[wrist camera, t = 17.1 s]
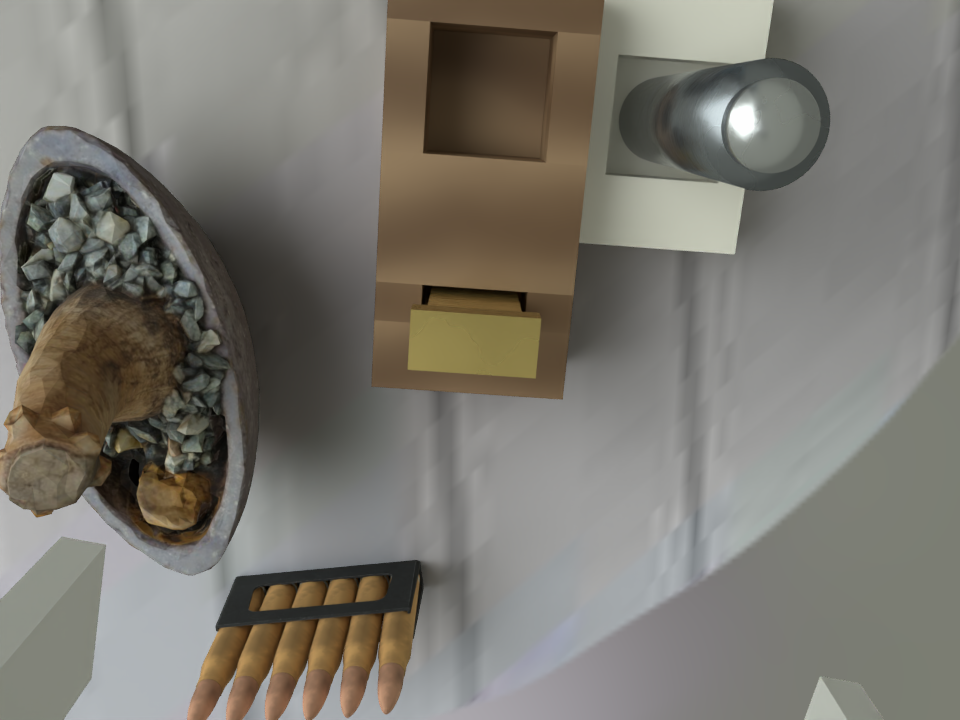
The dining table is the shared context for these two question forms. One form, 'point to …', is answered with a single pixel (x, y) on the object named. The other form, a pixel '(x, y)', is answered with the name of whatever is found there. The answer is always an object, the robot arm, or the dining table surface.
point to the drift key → (474, 333)
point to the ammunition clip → (312, 638)
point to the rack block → (647, 185)
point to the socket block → (483, 171)
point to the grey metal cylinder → (731, 122)
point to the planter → (123, 354)
